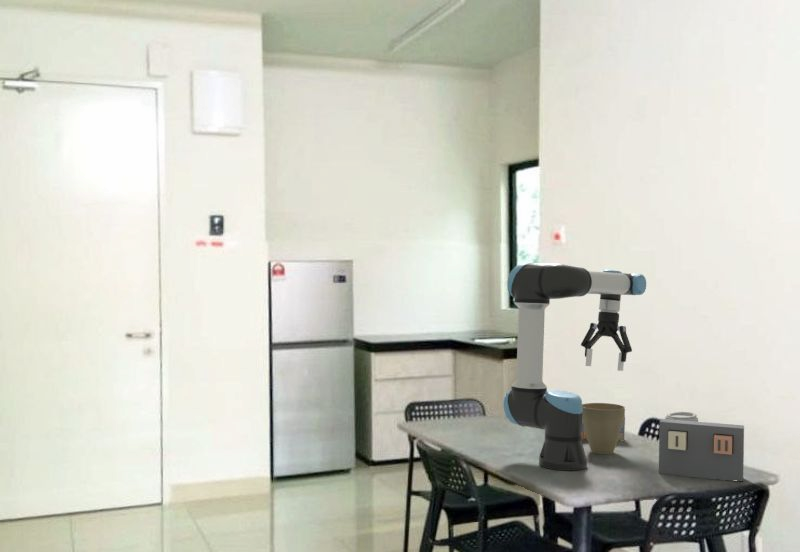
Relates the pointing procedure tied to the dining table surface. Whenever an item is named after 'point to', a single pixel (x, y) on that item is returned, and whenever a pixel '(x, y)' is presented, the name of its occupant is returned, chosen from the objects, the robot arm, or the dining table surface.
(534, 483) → the dining table surface
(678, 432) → the button one
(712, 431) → the button panel
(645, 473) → the dining table surface
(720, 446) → the button two
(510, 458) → the dining table surface
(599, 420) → the plant pot
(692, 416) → the disposable coffee cup
